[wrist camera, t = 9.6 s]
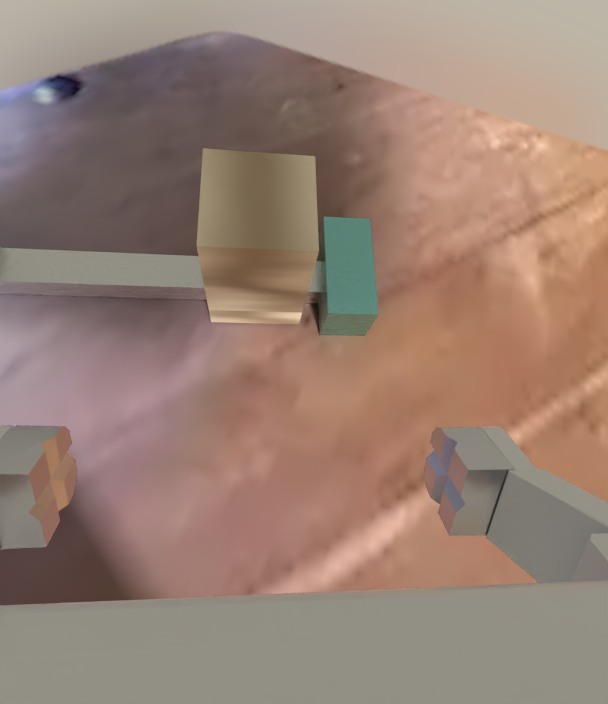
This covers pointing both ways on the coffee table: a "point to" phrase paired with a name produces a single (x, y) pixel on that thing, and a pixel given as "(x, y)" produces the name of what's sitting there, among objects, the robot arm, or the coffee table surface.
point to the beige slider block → (257, 234)
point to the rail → (186, 277)
